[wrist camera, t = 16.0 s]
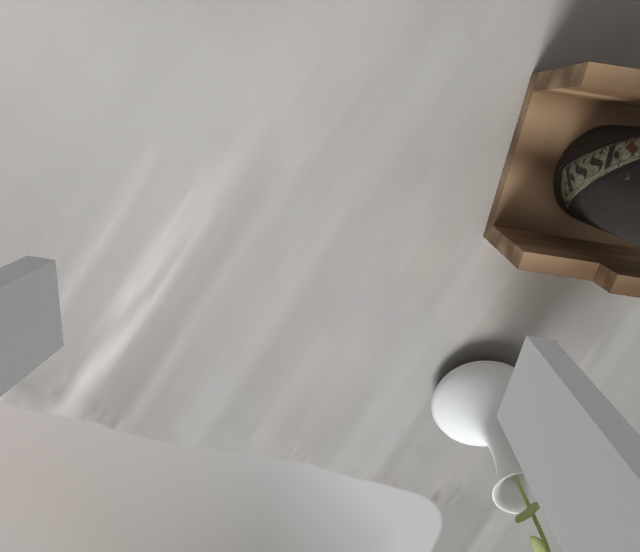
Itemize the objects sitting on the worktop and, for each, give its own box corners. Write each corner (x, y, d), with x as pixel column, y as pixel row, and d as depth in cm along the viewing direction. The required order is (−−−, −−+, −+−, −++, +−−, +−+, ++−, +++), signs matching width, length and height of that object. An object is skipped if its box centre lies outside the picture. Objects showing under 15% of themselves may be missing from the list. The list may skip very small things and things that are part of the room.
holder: (532, 73, 37) (609, 57, 26) (714, 101, 37) (871, 96, 26) (483, 236, 42) (529, 280, 31) (641, 261, 42) (744, 314, 31)
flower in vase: (424, 358, 48) (491, 590, 25) (528, 346, 47) (703, 580, 23) (433, 447, 53) (499, 713, 29) (529, 438, 51) (676, 711, 28)
